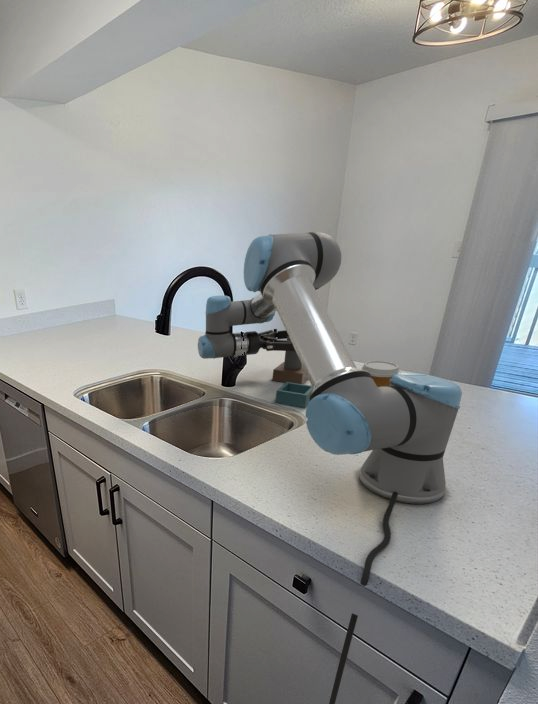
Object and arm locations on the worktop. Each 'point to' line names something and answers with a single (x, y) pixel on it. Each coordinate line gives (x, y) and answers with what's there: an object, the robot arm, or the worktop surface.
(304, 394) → the holder
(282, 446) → the worktop surface
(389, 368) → the disposable coffee cup
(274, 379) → the stand
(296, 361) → the bottle
